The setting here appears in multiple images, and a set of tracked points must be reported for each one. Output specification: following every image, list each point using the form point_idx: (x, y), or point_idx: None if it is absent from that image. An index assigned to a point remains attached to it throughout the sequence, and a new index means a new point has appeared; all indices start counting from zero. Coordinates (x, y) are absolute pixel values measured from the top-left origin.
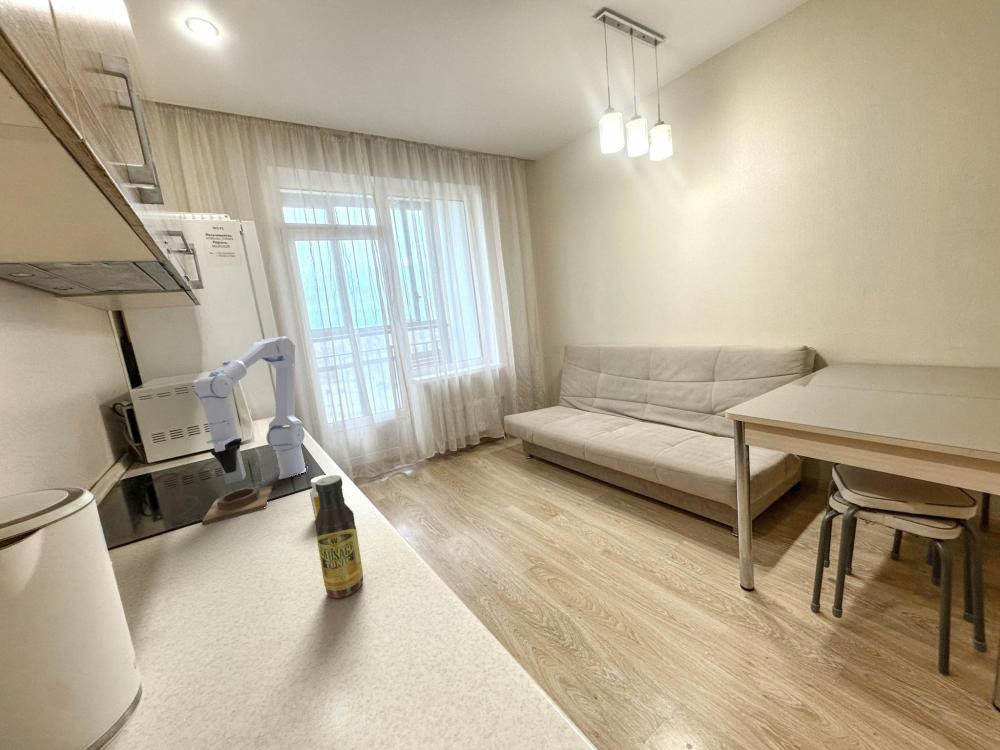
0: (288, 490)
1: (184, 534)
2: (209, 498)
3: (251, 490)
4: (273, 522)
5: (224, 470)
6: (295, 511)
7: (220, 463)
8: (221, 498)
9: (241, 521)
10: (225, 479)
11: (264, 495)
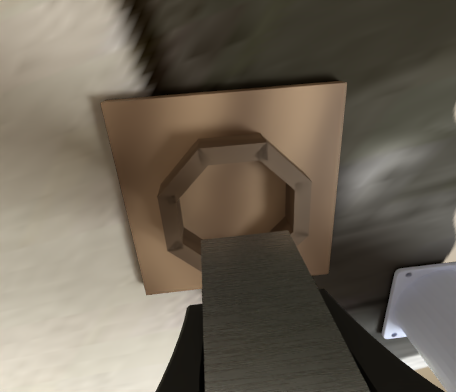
0: None
1: (36, 45)
2: (435, 17)
3: None
4: (19, 328)
5: (184, 321)
6: (73, 361)
7: (164, 377)
8: (242, 153)
9: (70, 239)
10: (202, 260)
11: None
